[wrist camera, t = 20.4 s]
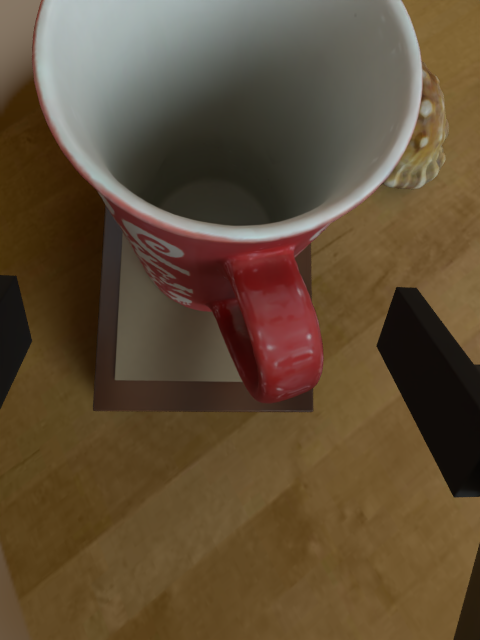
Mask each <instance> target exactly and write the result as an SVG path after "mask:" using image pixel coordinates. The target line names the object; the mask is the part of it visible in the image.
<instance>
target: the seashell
mask: <svg viewBox="0 0 480 640" xmlns="http://www.w3.org/2000/svg"><path fill="white" fill-rule="evenodd" d="M421 62H422V61H421ZM422 75H423V89H422V97H421V105H420V110H419V115H418V119H417V123H416V126H415V129H414V132H413V134H412V137H411V139H410V142H409V144H408V146H407V148H406V150H405V152H404V153H403V155H402V157H401V159H400V161H399V163H398V164H397V166H396V167H395V168H394V170H393V171H392V173H391V174H390V175H389V177H388V178H387V179H386V180H385V181H384V182H383V184H384V185H386V186H389V187H394V188H401V189H416V188H420V187H422V186H423V185H424V184H426V183H428V182H429V181H432V180H433V179H434V178H435V177H436V176H437V174H438V172H439V170H440V168H441V167H442V165H443V163H444V161H445V154H444V153H443V147H442V146H441V145H442V144H443V142H444V141H445V139H446V137H447V136H448V134H449V124H448V121H447V119H446V110H445V101H444V96H443V93H442V91H441V89H440V87H439V80H438V78H437V77H436V75H434V74H432V73H431V72H430V71H429V69H428V68H427V66H426V64H425V63H424V62H422Z"/></svg>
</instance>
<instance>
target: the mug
mask: <svg viewBox="0 0 480 640" xmlns="http://www.w3.org/2000/svg"><path fill="white" fill-rule="evenodd" d="M32 51H33V55H32V65H33V72H34V83H35V87H36V91H37V95H38V99H39V103H40V106H41V109H42V111H43V114H44V117H45V119H46V122H47V124H48V127H49V129H50V131H51V133H52V134H53V136H54V138H55V140H56V142H57V143H58V145H59V147H60V148H61V150H62V152H63V153H64V155H65V156H66V157H67V159H68V160H69V161H70V163H71V164H72V165H73V167H74V168H75V169H76V170H77V171H78V173H79V174H80V175H81V176H82V177H83V178H84V179H85V180H86V181H87V182H88V183H89V184H90V185H92V186H93V187H94V188H95V189H96V190H97V191H98V193H99V195H100V196H101V198H102V200H103V201H104V203H105V205H106V206H107V208H108V210H109V211H110V213H111V215H112V216H113V218H114V219H115V221H116V222H117V223H118V225H119V226H120V228H121V229H122V231H123V233H124V235H125V236H126V238H127V239H128V241H129V243H130V245H131V247H132V248H133V250H134V252H135V253H136V255H137V257H138V258H139V260H140V262H141V263H142V265H143V267H144V269H145V271H146V272H147V274H148V276H149V277H150V278H151V280H152V281H153V282H154V284H155V285H156V286H157V287H158V288H159V289H160V290H161V291H162V292H163V293H164V294H165V295H166V296H168V297H169V298H170V299H172V300H173V301H175V302H177V303H179V304H181V305H183V306H185V307H188V308H191V309H194V310H199V311H207V312H213V315H214V317H215V319H216V320H217V323H218V326H219V329H220V331H221V334H222V336H223V339H224V341H225V344H226V346H227V348H228V351H229V353H230V356H231V358H232V360H233V362H234V364H235V367H236V369H237V371H238V374H239V376H240V378H241V380H242V381H243V383H244V385H245V387H246V389H247V390H248V392H249V393H250V394H251V396H252V397H253V398H254V399H255V400H257V401H258V402H261V403H276V402H280V401H283V400H287V399H290V398H292V397H295V396H298V395H300V394H303V393H305V392H307V391H309V390H311V389H312V388H313V387H314V386H315V385H316V384H317V383H318V381H319V379H320V376H321V373H322V369H323V344H322V338H321V333H320V328H319V323H318V319H317V315H316V312H315V309H314V307H313V304H312V302H311V298H310V295H309V293H308V291H307V287H306V285H305V283H304V281H303V279H302V276H301V275H300V273H299V269H298V265H297V263H296V261H295V258H296V257H297V256H298V255H299V254H300V253H301V252H302V251H303V250H304V249H305V248H306V247H307V246H308V245H309V244H310V243H311V242H312V241H313V240H314V239H315V238H316V237H317V236H318V235H319V234H320V233H321V232H322V231H324V230H325V229H326V228H327V226H328V225H329V224H330V223H331V222H334V221H335V220H337V219H338V218H340V217H342V216H343V215H345V214H346V213H348V212H349V211H351V210H352V209H354V208H356V207H357V206H358V205H359V204H361V203H362V202H363V201H364V200H366V199H367V198H368V197H369V196H370V195H372V194H373V193H374V192H375V191H376V190H377V189H378V187H379V186H380V185H381V184H382V183H383V182H384V181H385V180H386V179H387V178H388V177H389V175H390V174H391V173H392V171H393V170H394V168H395V167H396V166H397V164H398V163H399V161H400V159H401V157H402V155H403V153H404V152H405V150H406V148H407V146H408V144H409V142H410V139H411V137H412V134H413V132H414V129H415V126H416V123H417V119H418V115H419V110H420V105H421V97H422V89H423V75H422V62H421V53H420V48H419V44H418V41H417V37H416V34H415V31H414V28H413V25H412V22H411V19H410V16H409V14H408V12H407V10H406V8H405V6H404V4H403V2H402V0H42V1H41V3H40V7H39V10H38V14H37V18H36V22H35V27H34V34H33V46H32Z"/></svg>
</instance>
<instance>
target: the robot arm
mask: <svg viewBox="0 0 480 640" xmlns="http://www.w3.org/2000/svg"><path fill="white" fill-rule="evenodd" d="M31 342H32V339H31V334H30V330H29V326H28V322H27V318H26V314H25V310H24V305H23V301H22V297H21V293H20V289H19V285H18V281H17V276H8V275H0V409H1V406H2V404H3V402H4V400H5V398H6V396H7V394H8V391H9V389H10V387H11V385H12V383H13V381H14V379H15V377H16V374H17V372H18V370H19V368H20V366H21V364H22V362H23V359H24V357H25V355H26V353H27V351H28V349H29V347H30V344H31ZM377 348H378V350H379V352H380V354H381V356H382V358H383V360H384V362H385V364H386V366H387V368H388V369H389V371H390V373H391V375H392V377H393V379H394V381H395V383H396V385H397V387H398V389H399V391H400V393H401V395H402V397H403V399H404V401H405V403H406V405H407V407H408V409H409V411H410V412H411V414H412V416H413V418H414V420H415V422H416V424H417V426H418V428H419V430H420V432H421V434H422V436H423V438H424V440H425V442H426V444H427V446H428V448H429V450H430V452H431V453H432V455H433V457H434V459H435V461H436V463H437V465H438V467H439V469H440V471H441V473H442V475H443V477H444V479H445V481H446V483H447V485H448V487H449V489H450V491H451V493H452V495H453V496H454V497H480V365H474V364H473V363H472V361H471V360H470V359H469V357H468V356H467V355H466V353H465V352H464V351H463V349H462V348H461V347H460V345H459V344H458V343H457V341H456V340H455V339H454V337H453V336H452V335H451V333H450V332H449V331H448V329H447V328H446V327H445V325H444V324H443V323H442V321H441V320H440V319H439V317H438V316H437V315H436V313H435V312H434V311H433V309H432V308H431V307H430V305H429V304H428V303H427V301H426V300H425V299H424V297H423V296H422V295H421V293H420V292H419V291H418V289H417V288H405V287H396V290H395V293H394V296H393V299H392V302H391V305H390V308H389V311H388V314H387V317H386V319H385V322H384V325H383V328H382V331H381V334H380V337H379V340H378V343H377ZM454 640H480V544H479V548H478V551H477V555H476V559H475V562H474V566H473V570H472V574H471V577H470V581H469V585H468V588H467V592H466V596H465V599H464V603H463V607H462V610H461V614H460V618H459V621H458V625H457V629H456V632H455V636H454Z"/></svg>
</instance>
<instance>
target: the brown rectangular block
mask: <svg viewBox="0 0 480 640" xmlns="http://www.w3.org/2000/svg"><path fill="white" fill-rule="evenodd" d="M295 261H296V263H297V265H298V269H299V273H300V275H301V276H302V279H303V281H304V283H305V285H306V287H307V291H308V293H309V295H310V298H311V302H312V290H311V243H310V244H309V245H308V246H307V247H306V248H305V249H304V250H303V251H302V252H301V253H300V254H299V255H298V256H297V257H296V258H295ZM93 410H94V411H185V412H313V388H312V389H311V390H309V391H307V392H305V393H303V394H300V395H298V396H295V397H292V398H290V399H287V400H283V401H280V402H276V403H261V402H258V401H257V400H255V399H254V398H253V397H252V396H251V394H250V393H249V392H248V390H247V389H246V387H245V385H244V383H243V381H242V380H241V378H240V376H239V374H238V371H237V369H236V367H235V364H234V362H233V360H232V358H231V356H230V353H229V351H228V348H227V346H226V344H225V341H224V339H223V336H222V334H221V331H220V329H219V326H218V323H217V320H216V319H215V317H214V315H213V312H207V311H199V310H194V309H191V308H188V307H185V306H183V305H181V304H179V303H177V302H175V301H173V300H172V299H170V298H169V297H168V296H166V295H165V294H164V293H163V292H162V291H161V290H160V289H159V288H158V287H157V286H156V285H155V284H154V282H153V281H152V280H151V278H150V277H149V276H148V274H147V272H146V271H145V269H144V267H143V265H142V263H141V262H140V260H139V258H138V257H137V255H136V253H135V252H134V250H133V248H132V247H131V245H130V243H129V241H128V239H127V238H126V236H125V235H124V233H123V231H122V229H121V228H120V226H119V225H118V223H117V222H116V221H115V219H114V218H113V216H112V215H111V213H110V211H109V210H108V208H107V206H106V205H105V218H104V234H103V251H102V267H101V284H100V300H99V317H98V334H97V350H96V367H95V383H94V400H93Z"/></svg>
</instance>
